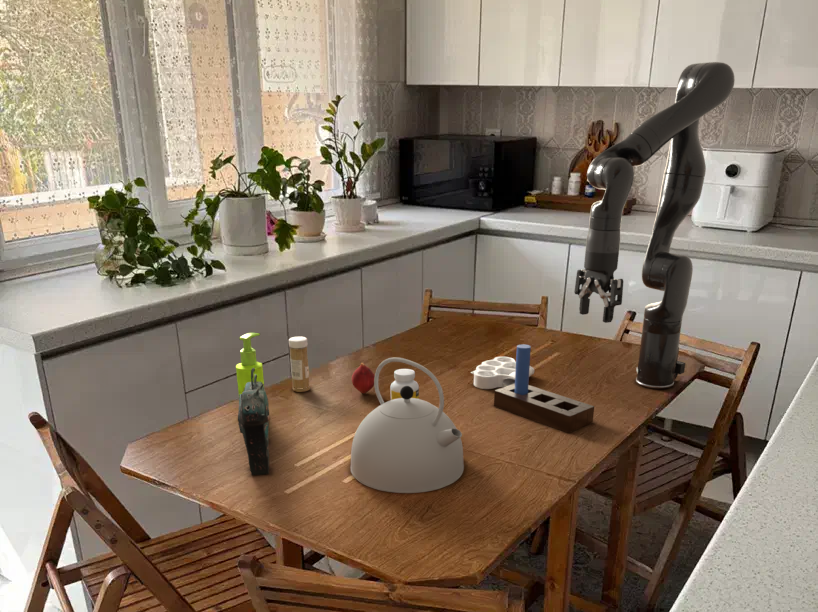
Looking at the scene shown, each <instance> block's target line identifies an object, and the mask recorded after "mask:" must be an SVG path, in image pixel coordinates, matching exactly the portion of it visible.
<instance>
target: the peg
mask: <svg viewBox="0 0 818 612" xmlns="http://www.w3.org/2000/svg"><path fill="white" fill-rule="evenodd" d="M531 349H532V347H531V345H530V344H524V343H523V344H517V345H516V355H515V356H516V357H515V362H516V372H515V391H514V393H517V394H520V395H525V394H528V385H529V382H530V381H529V380H530V377H529V368H530V366H531Z"/></svg>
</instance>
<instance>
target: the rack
mask: <svg viewBox="0 0 818 612" xmlns="http://www.w3.org/2000/svg"><path fill="white" fill-rule="evenodd" d="M514 391H515V384H512V385H509V386H506V387H499V388H497V389H494V391H493V393H494V395H493V398H494V399H493V407H496V408H499V409H501V410H504V411H505V412H506V411H507V412H509V413H512V414H515V415H518V416H521V417H523V418H525V419H528V420H532V421H534V422H537V423H539V424H542V425H544V426H548V427H551V428H553V429H556V430H559V431H561V432H565V433H566V434H569V433H570V434H571V433H572V432H574V431H576V430H580V429H582V428H584V427H586V426H588V425H591V424H593V423H594V414H595V406H594V405H592V404H589V403H585V402H582V401H579V400H576V399H573V398H570V397H568V396H564V395H560V394H557V393H554V392H552V391H548V390H547V389H543V388H539V387H536V386H533V385H531V384H530V385H528V394H525V395H520V394H517V393H514Z"/></svg>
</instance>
